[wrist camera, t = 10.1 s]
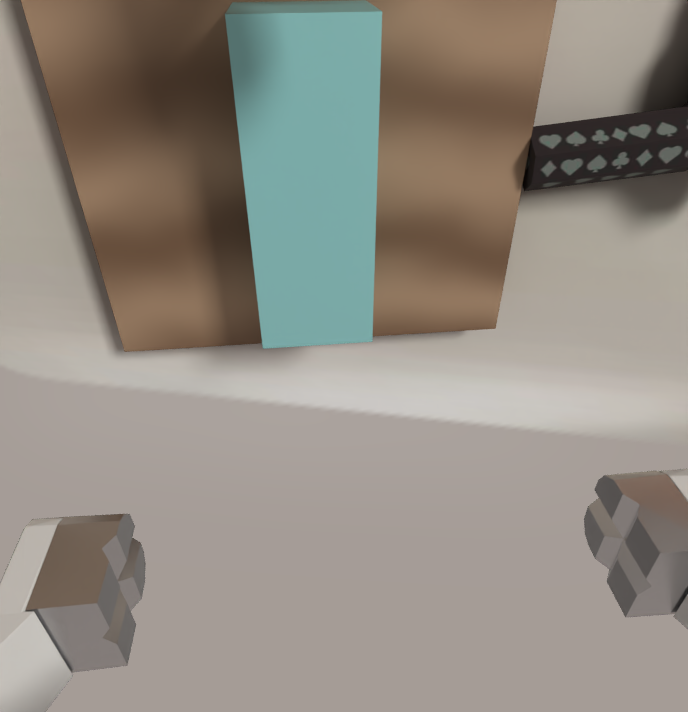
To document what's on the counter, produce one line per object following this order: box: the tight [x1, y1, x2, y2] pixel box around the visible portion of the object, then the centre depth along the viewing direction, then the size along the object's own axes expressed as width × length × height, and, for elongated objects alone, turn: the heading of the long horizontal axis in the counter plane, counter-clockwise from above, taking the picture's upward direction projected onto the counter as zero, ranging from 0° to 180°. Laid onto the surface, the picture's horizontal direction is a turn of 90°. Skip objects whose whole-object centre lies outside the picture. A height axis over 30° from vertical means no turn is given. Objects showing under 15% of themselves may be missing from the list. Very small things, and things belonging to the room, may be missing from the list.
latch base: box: [21, 0, 557, 352], centre depth 24 cm, size 24×20×2 cm
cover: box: [225, 0, 382, 349], centre depth 23 cm, size 13×5×4 cm, turn 0°
